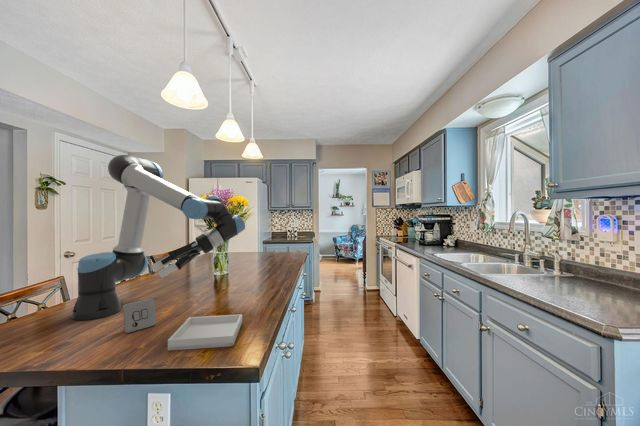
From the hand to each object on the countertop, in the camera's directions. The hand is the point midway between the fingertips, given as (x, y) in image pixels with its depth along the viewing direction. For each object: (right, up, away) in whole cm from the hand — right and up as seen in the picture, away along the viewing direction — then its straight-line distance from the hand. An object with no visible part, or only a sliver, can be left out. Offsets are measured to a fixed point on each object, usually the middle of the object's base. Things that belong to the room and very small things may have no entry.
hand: (156, 272), depth 102 cm
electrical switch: (-2, -18, -7) cm, 19 cm away
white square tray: (+25, -17, -13) cm, 33 cm away
